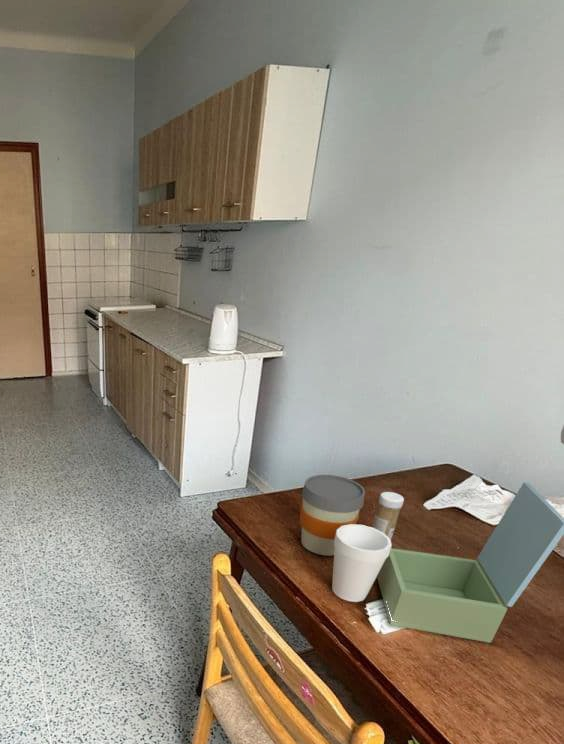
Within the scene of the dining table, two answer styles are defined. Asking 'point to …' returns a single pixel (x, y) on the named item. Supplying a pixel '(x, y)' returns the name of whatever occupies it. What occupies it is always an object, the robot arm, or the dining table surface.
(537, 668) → the dining table surface
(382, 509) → the sprinkles bottle
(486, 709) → the dining table surface
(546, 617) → the dining table surface
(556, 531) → the hatch
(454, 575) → the display box
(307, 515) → the reusable coffee cup
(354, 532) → the foam cup
